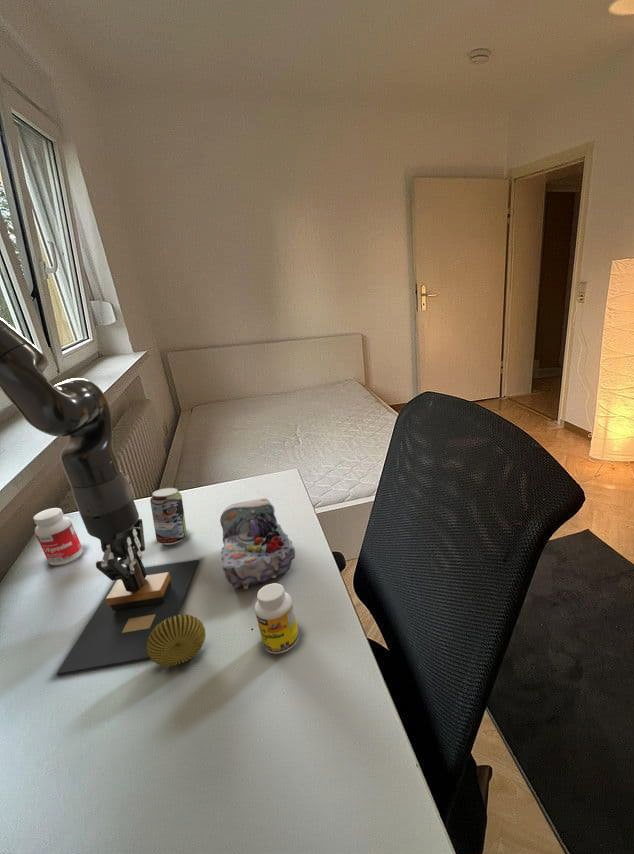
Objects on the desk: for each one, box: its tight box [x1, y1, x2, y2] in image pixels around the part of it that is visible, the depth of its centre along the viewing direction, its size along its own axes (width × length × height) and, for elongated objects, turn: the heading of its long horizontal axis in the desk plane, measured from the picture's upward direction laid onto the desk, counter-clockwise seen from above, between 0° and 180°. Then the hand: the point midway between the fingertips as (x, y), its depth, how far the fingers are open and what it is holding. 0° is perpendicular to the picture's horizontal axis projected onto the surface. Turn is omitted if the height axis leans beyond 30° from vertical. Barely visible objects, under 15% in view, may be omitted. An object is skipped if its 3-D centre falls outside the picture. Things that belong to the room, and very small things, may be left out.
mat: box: [56, 559, 200, 676], centre depth 79 cm, size 15×24×1 cm, turn 10°
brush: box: [106, 559, 171, 611], centre depth 79 cm, size 9×5×8 cm, turn 100°
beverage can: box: [149, 487, 188, 546], centre depth 97 cm, size 6×7×12 cm
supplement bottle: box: [254, 582, 299, 654], centre depth 69 cm, size 6×6×10 cm
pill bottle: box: [32, 507, 84, 566], centre depth 93 cm, size 6×6×11 cm
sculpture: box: [147, 614, 207, 667], centre depth 67 cm, size 8×4×8 cm, turn 121°
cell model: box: [219, 497, 296, 590], centre depth 88 cm, size 13×11×20 cm
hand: (137, 583), depth 79 cm, fingers closed on brush, 2 cm apart
